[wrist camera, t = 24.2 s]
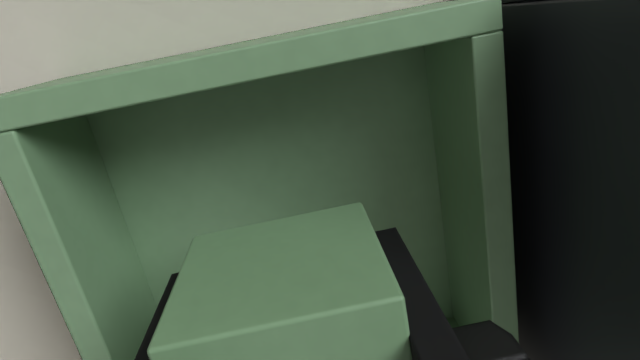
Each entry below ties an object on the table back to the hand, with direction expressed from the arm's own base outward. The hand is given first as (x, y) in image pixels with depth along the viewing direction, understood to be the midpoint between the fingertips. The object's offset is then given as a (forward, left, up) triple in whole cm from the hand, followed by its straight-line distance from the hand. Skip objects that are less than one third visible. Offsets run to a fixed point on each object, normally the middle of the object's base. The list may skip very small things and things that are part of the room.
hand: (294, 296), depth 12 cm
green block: (0, 0, 0) cm, 0 cm away
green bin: (0, 0, -5) cm, 5 cm away
